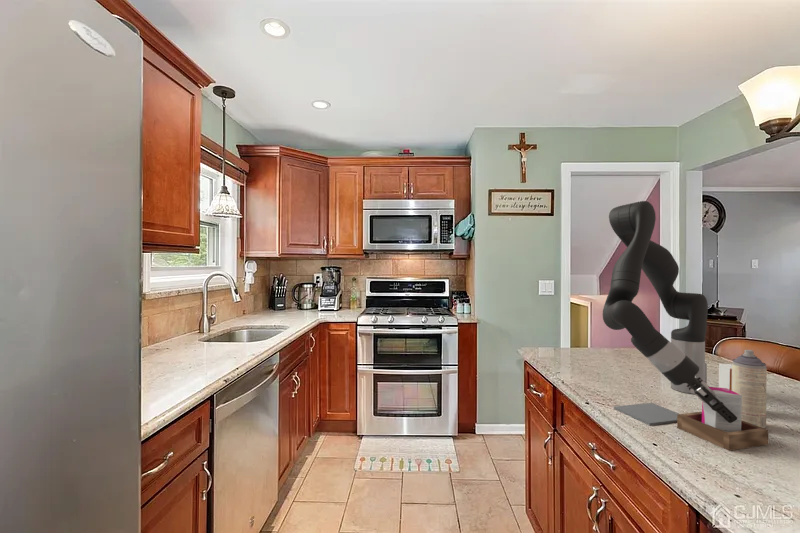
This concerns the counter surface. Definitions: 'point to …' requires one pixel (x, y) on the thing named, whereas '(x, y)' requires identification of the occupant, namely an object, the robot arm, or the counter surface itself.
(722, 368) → the small box
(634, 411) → the slate mat
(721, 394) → the supplement box
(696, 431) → the tray
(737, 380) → the aerosol can
